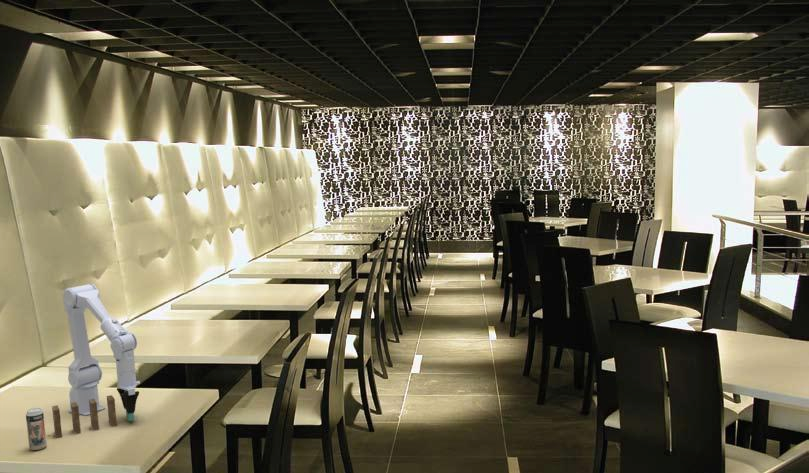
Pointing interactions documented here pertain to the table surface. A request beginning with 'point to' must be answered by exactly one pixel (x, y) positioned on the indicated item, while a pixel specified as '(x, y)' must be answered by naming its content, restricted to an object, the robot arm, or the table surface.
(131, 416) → the domino
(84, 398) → the robot arm
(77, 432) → the domino
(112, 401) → the domino
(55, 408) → the domino
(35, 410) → the beer can
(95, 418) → the domino
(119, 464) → the table surface
